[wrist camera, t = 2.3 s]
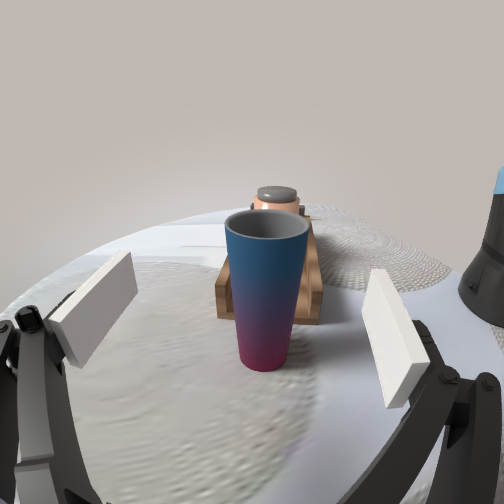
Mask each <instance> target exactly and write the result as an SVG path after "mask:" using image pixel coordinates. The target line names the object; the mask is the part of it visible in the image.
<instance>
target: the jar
mask: <svg viewBox="0 0 504 504" xmlns="http://www.w3.org/2000/svg"><path fill="white" fill-rule="evenodd" d="M299 200H300V199H299V198H298V197H297V192H296V190H294V189H292V188H288V187H282V186H267V187H262V188H259V189H258V195H256V196H255V197H254V209H275V210H283V211H288V212H292V213H295V214H298V215H299Z"/></svg>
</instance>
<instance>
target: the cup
mask: <svg viewBox="0 0 504 504" xmlns="http://www.w3.org/2000/svg"><path fill="white" fill-rule="evenodd" d="M309 228H310V225H309V222H308V221H307V220H306V219H305V218H304V217H302V216H300V215H298V214H295V213H292V212H288V211H283V210H275V209H254V210H247V211H242V212H238V213H236V214H233V215H231V216H229V217H228V218H227V219H226V221H225V233H226V243H227V252H228V261H229V270H230V279H231V288H232V297H233V305H234V314H235V322H236V330H237V338H238V346H239V354H240V359H241V361H242V363H243V364H244V365H245V366H246V367H248V368H250V369H252V370H255V371H260V372H266V371H272V370H275V369H277V368H278V367H280V366H281V365H282V364H283V363H284V361H285V359H286V355H287V350H288V346H289V341H290V336H291V331H292V326H293V321H294V316H295V310H296V305H297V300H298V294H299V289H300V283H301V277H302V272H303V266H304V260H305V254H306V247H307V241H308V234H309Z"/></svg>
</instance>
